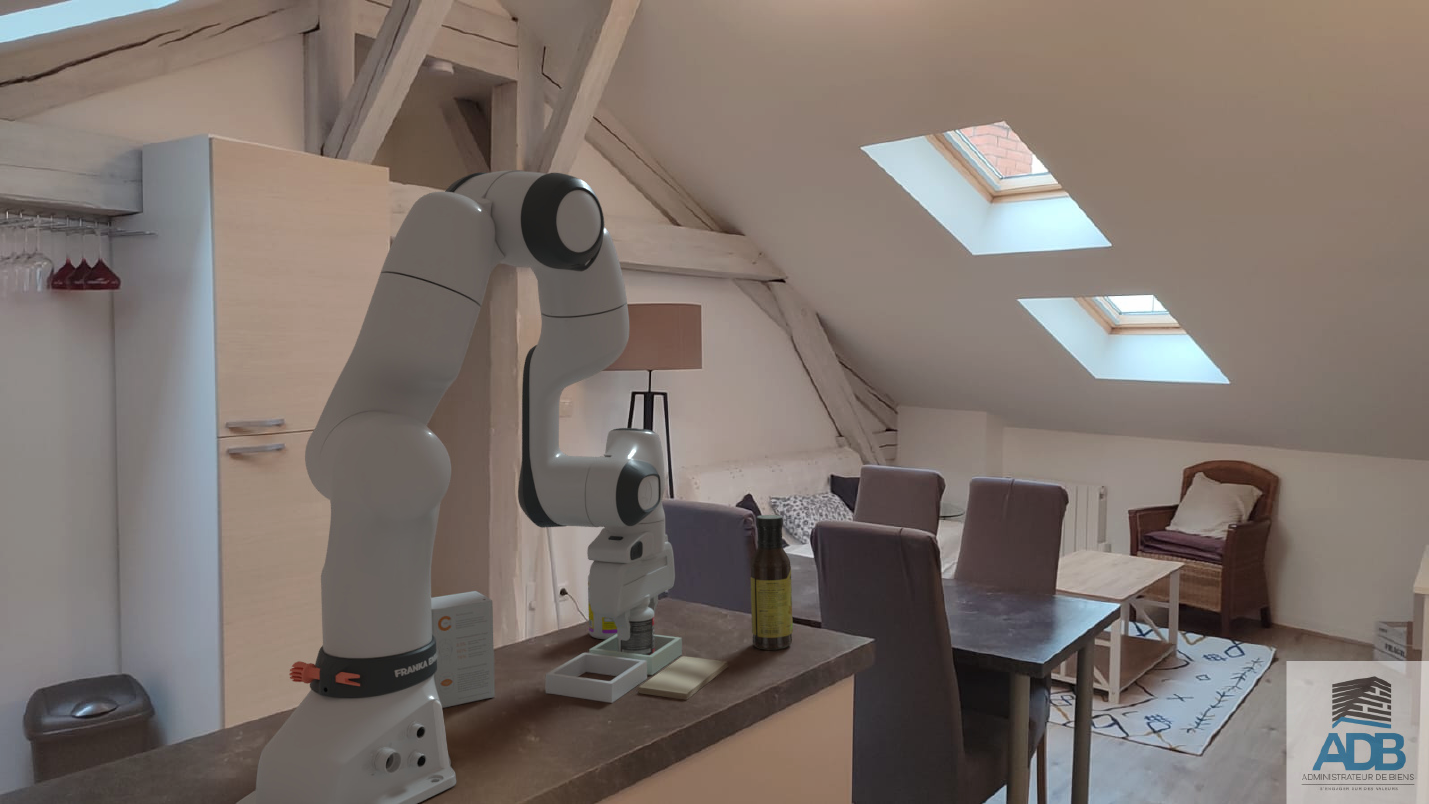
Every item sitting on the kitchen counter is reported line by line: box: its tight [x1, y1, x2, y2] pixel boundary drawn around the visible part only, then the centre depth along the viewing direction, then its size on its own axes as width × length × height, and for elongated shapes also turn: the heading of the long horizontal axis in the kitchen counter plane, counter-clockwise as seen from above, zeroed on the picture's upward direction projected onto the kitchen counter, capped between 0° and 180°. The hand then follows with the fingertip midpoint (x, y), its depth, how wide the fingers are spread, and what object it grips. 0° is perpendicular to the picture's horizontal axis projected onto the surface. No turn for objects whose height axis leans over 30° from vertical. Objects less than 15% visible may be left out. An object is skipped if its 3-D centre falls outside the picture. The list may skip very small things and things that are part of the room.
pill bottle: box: [618, 595, 656, 655], centre depth 141 cm, size 5×5×10 cm
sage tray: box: [588, 634, 683, 676], centre depth 141 cm, size 10×10×2 cm
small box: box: [431, 590, 496, 709], centre depth 127 cm, size 8×6×13 cm
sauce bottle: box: [750, 514, 794, 651], centre depth 148 cm, size 6×6×20 cm
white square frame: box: [545, 652, 648, 704], centre depth 131 cm, size 10×10×2 cm
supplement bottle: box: [587, 575, 617, 640], centre depth 154 cm, size 7×7×13 cm
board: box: [638, 655, 728, 701], centre depth 133 cm, size 14×7×1 cm, turn 157°
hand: (636, 632), depth 141 cm, fingers closed on pill bottle, 5 cm apart
